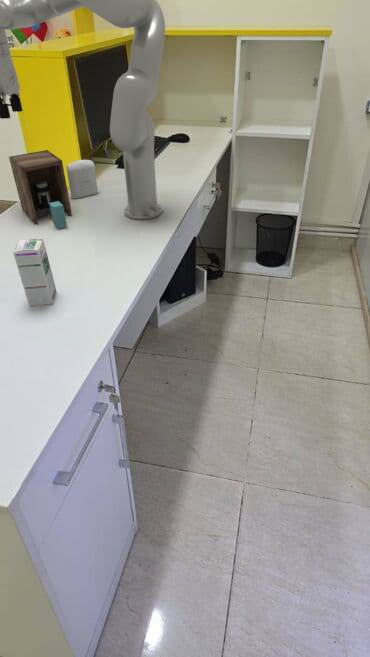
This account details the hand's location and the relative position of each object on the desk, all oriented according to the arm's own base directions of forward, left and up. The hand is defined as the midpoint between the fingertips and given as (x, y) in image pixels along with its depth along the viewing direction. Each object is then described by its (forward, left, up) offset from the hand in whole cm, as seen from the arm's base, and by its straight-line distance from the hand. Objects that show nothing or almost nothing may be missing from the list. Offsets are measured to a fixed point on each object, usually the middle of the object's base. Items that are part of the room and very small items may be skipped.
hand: (11, 114), depth 140 cm
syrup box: (-62, +16, -29) cm, 70 cm away
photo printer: (-2, -19, -30) cm, 35 cm away
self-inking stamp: (-9, -2, -29) cm, 31 cm away
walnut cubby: (-10, -2, -29) cm, 31 cm away
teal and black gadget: (-15, -2, -29) cm, 33 cm away
